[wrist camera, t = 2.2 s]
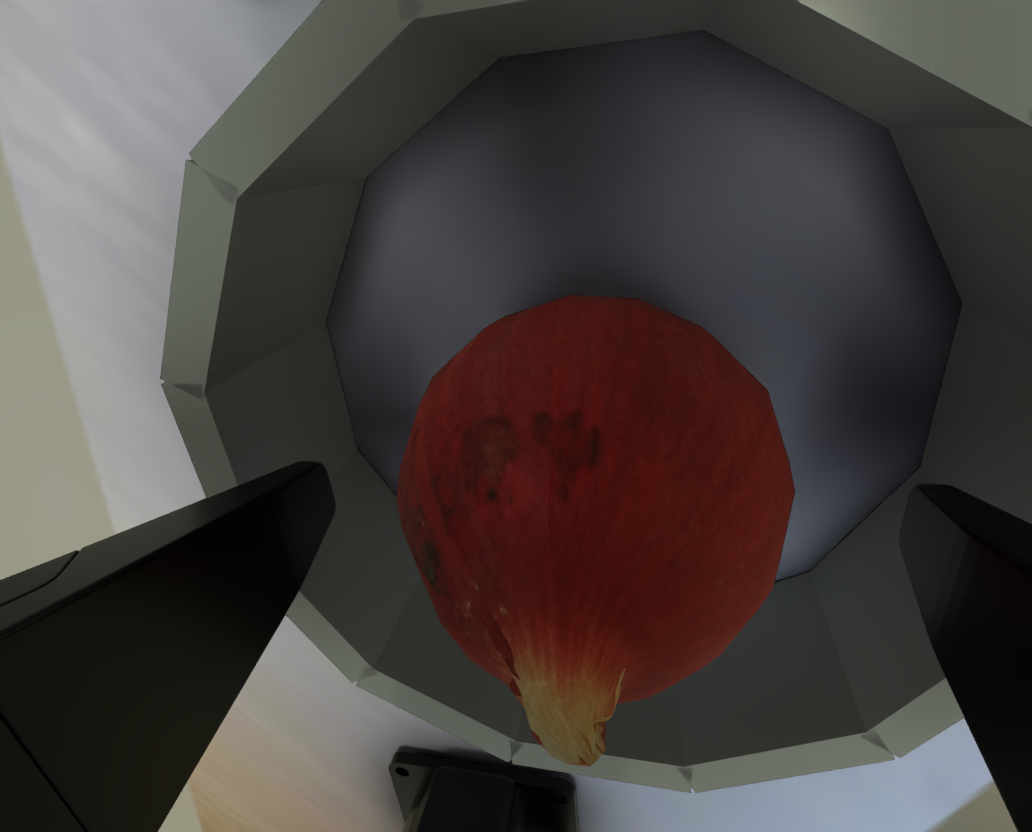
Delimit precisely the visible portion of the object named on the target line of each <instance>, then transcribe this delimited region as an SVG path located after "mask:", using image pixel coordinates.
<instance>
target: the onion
mask: <svg viewBox="0 0 1032 832" xmlns="http://www.w3.org/2000/svg"><path fill="white" fill-rule="evenodd" d="M794 494H795V489H794V484H793V478H792V473H791V468H790V463H789V459H788V456H787V453H786V449H785V446H784V443H783V440H782V436H781V433H780V430H779V426H778V423H777V420H776V416H775V413H774V410H773V406H772V403H771V400H770V397H769V393H768V390H767V389H766V388H765V387H764V386H763V385H762V384H761V383H760V382H759V381H758V380H757V379H756V378H755V377H754V376H753V375H752V374H751V373H750V372H749V371H748V370H747V369H746V368H745V367H744V366H743V365H742V364H741V363H740V362H739V361H738V360H737V359H736V358H735V357H734V356H733V355H732V354H730V353H729V352H728V351H727V350H726V349H725V348H724V347H723V346H722V345H721V344H720V343H719V342H718V341H717V340H716V339H715V338H714V337H713V336H712V335H711V334H710V333H709V332H707V331H706V330H705V329H704V328H702V327H701V326H699V325H697V324H694V323H692V322H690V321H688V320H686V319H683V318H681V317H679V316H677V315H674V314H672V313H670V312H668V311H665V310H663V309H661V308H659V307H656V306H654V305H652V304H650V303H647V302H645V301H643V300H641V299H636V298H618V297H600V296H583V295H568V296H565V297H562V298H559V299H556V300H553V301H550V302H547V303H544V304H541V305H538V306H535V307H532V308H529V309H526V310H523V311H520V312H517V313H514V314H511V315H508V316H505V317H503V318H501V319H499V320H498V321H496V322H494V323H493V324H491V325H489V326H487V327H486V328H484V329H483V330H482V331H481V332H480V333H479V334H478V335H477V336H476V337H475V338H474V339H473V340H472V341H470V342H469V343H468V344H467V345H466V346H465V347H464V348H463V349H462V350H461V351H460V352H459V353H458V354H457V355H456V356H454V357H453V358H452V359H451V360H450V361H449V362H448V363H447V364H446V365H445V366H444V367H443V368H442V369H441V370H440V371H438V372H437V373H436V374H435V375H434V376H433V377H432V379H431V381H430V383H429V385H428V387H427V390H426V392H425V394H424V396H423V398H422V400H421V402H420V405H419V407H418V411H417V414H416V417H415V421H414V424H413V427H412V430H411V434H410V437H409V440H408V444H407V447H406V450H405V454H404V457H403V460H402V464H401V467H400V472H399V481H398V490H397V499H396V500H397V505H398V510H399V516H400V521H401V526H402V530H403V533H404V535H405V538H406V540H407V543H408V545H409V548H410V550H411V553H412V555H413V558H414V560H415V563H416V565H417V568H418V570H419V573H420V575H421V578H422V580H423V583H424V585H425V588H426V590H427V592H428V595H429V597H430V600H431V602H432V604H433V607H434V609H435V611H436V613H437V615H438V618H439V620H440V622H441V624H442V626H443V627H444V628H445V629H446V631H447V632H448V633H449V634H450V636H451V637H452V638H453V639H454V641H455V642H456V643H457V644H458V646H459V647H460V648H461V649H462V651H463V652H464V653H465V654H466V656H467V657H468V658H469V659H470V660H472V661H473V662H474V663H476V664H477V665H478V666H479V667H481V668H482V669H483V670H485V671H486V672H488V673H490V674H491V675H493V676H494V677H496V678H498V679H499V680H501V681H502V682H504V683H506V684H507V685H508V687H509V688H510V689H511V691H512V692H513V693H514V695H515V696H516V697H517V699H518V700H519V701H520V703H521V704H522V705H523V707H524V708H525V710H526V714H527V718H528V721H529V725H530V729H531V732H532V736H533V737H534V738H535V739H536V740H537V741H538V742H539V743H540V745H541V746H542V747H543V748H544V749H545V750H546V751H547V752H548V753H549V754H550V755H551V756H552V757H554V758H556V759H558V760H561V761H563V762H565V763H567V764H570V765H579V766H591V765H593V764H594V763H595V762H596V761H597V760H598V758H599V757H600V756H601V755H602V754H603V753H604V752H605V743H606V722H607V721H608V720H609V719H610V718H611V717H612V716H613V714H614V711H615V707H616V704H621V703H626V702H631V701H636V700H641V699H646V698H649V697H651V696H653V695H655V694H657V693H659V692H661V691H663V690H665V689H667V688H668V687H670V686H672V685H674V684H675V683H677V682H679V681H681V680H682V679H684V678H686V677H688V676H689V675H691V674H693V673H695V672H696V671H698V670H700V669H702V668H703V667H705V666H706V665H707V664H709V663H710V662H711V661H713V660H714V659H715V658H717V657H718V656H719V655H720V654H721V653H722V652H723V651H724V650H725V649H726V647H727V646H728V645H729V644H730V643H731V641H732V640H733V639H734V638H735V637H736V635H737V634H738V633H739V632H740V631H741V630H742V628H743V627H744V626H745V625H746V624H747V622H748V621H749V620H750V619H751V618H752V616H753V615H754V614H755V613H756V612H757V610H758V609H759V607H760V606H761V605H762V603H763V602H764V600H765V599H766V598H767V596H768V595H769V593H770V592H771V590H772V589H773V585H774V581H775V578H776V574H777V570H778V567H779V563H780V559H781V554H782V549H783V545H784V540H785V535H786V531H787V526H788V522H789V517H790V512H791V508H792V503H793V498H794Z"/></svg>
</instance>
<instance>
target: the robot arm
mask: <svg viewBox="0 0 1032 832" xmlns="http://www.w3.org/2000/svg"><path fill="white" fill-rule="evenodd" d="M335 511H336V500H335V496H334V493H333V489H332V486H331V482H330V478H329V475H328V471H327V468H326V467H325V465H324V464H323V463H321V462H317V461H298V462H296V463H293V464H291V465H288V466H286V467H283V468H281V469H278V470H276V471H273V472H271V473H268V474H266V475H263V476H261V477H258V478H256V479H253V480H251V481H248V482H246V483H243V484H241V485H238V486H236V487H233V488H231V489H228V490H226V491H223V492H221V493H218V494H216V495H213V496H211V497H208V498H206V499H203V500H201V501H198V502H196V503H193V504H191V505H188V506H186V507H183V508H181V509H178V510H176V511H173V512H171V513H168V514H166V515H163V516H161V517H158V518H156V519H153V520H151V521H148V522H146V523H143V524H141V525H138V526H136V527H133V528H131V529H128V530H126V531H123V532H121V533H118V534H116V535H114V536H111V537H109V538H106V539H104V540H101V541H98V542H96V543H93V544H91V545H89V546H86V547H84V548H82V549H81V550H80V551H77V550H76V551H73V552H71V553H68V554H66V555H63V556H61V557H59V558H56V559H53V560H51V561H48V562H46V563H43V564H40V565H38V566H36V567H33V568H30V569H28V570H25V571H23V572H20V573H17V574H15V575H12V576H10V577H7V578H5V579H2V580H0V832H158V830H159V828H160V827H161V825H162V823H163V822H164V820H165V818H166V817H167V815H168V813H169V812H170V810H171V808H172V807H173V805H174V803H175V801H176V800H177V798H178V796H179V795H180V793H181V791H182V790H183V788H184V786H185V784H186V783H187V781H188V779H189V778H190V776H191V774H192V773H193V771H194V769H195V768H196V766H197V764H198V762H199V761H200V759H201V757H202V756H203V754H204V752H205V751H206V749H207V747H208V745H209V744H210V742H211V740H212V739H213V737H214V735H215V734H216V732H217V730H218V728H219V727H220V725H221V723H222V722H223V720H224V718H225V717H226V715H227V713H228V711H229V710H230V708H231V706H232V705H233V703H234V701H235V700H236V698H237V696H238V694H239V693H240V691H241V689H242V688H243V686H244V684H245V683H246V681H247V679H248V677H249V676H250V674H251V672H252V671H253V669H254V667H255V666H256V664H257V662H258V660H259V659H260V657H261V655H262V654H263V652H264V650H265V649H266V647H267V645H268V643H269V642H270V640H271V638H272V637H273V635H274V633H275V632H276V630H277V628H278V627H279V625H280V623H281V621H282V620H283V618H284V616H285V615H286V613H287V611H288V610H289V608H290V606H291V604H292V603H293V601H294V599H295V597H296V596H297V594H298V592H299V590H300V588H301V586H302V584H303V582H304V580H305V578H306V576H307V574H308V572H309V570H310V568H311V565H312V563H313V561H314V559H315V557H316V555H317V552H318V550H319V548H320V546H321V544H322V541H323V539H324V537H325V535H326V533H327V531H328V528H329V526H330V524H331V522H332V520H333V517H334V515H335ZM898 543H899V549H900V552H901V555H902V558H903V561H904V564H905V568H906V571H907V574H908V577H909V580H910V583H911V586H912V589H913V592H914V595H915V598H916V601H917V604H918V607H919V610H920V613H921V616H922V619H923V622H924V626H925V629H926V632H927V634H928V637H929V640H930V643H931V645H932V648H933V651H934V653H935V655H936V657H937V660H938V662H939V664H940V667H941V669H942V671H943V673H944V675H945V677H946V679H947V682H948V684H949V686H950V688H951V690H952V692H953V694H954V697H955V699H956V701H957V703H958V705H959V707H960V709H961V711H962V714H963V716H964V718H965V720H966V722H967V724H968V726H969V729H970V731H971V733H972V735H973V737H974V739H975V741H976V744H977V746H978V748H979V750H980V752H981V754H982V756H983V759H984V761H985V763H986V765H987V767H988V769H989V771H990V773H991V776H992V778H993V780H994V782H995V784H996V786H997V788H998V790H999V793H1000V795H1001V797H1002V799H1003V801H1004V803H1005V805H1006V808H1007V810H1008V812H1009V814H1010V816H1011V818H1012V820H1013V823H1014V824H1015V827H1016V829H1017V831H1018V832H1032V524H1031V523H1029V522H1026V521H1024V520H1022V519H1020V518H1018V517H1016V516H1014V515H1012V514H1010V513H1008V512H1006V511H1004V510H1001V509H999V508H997V507H995V506H993V505H991V504H989V503H987V502H985V501H983V500H981V499H979V498H976V497H974V496H972V495H970V494H968V493H966V492H964V491H962V490H960V489H958V488H956V487H954V486H951V485H946V484H916V485H914V486H913V487H912V488H911V490H910V492H909V494H908V498H907V502H906V506H905V510H904V513H903V517H902V521H901V525H900V529H899V534H898ZM389 771H390V774H391V778H392V781H393V784H394V787H395V791H396V794H397V797H398V800H399V804H400V807H401V810H402V813H403V817H404V820H405V823H406V824H405V827H404V829H403V832H579V822H578V809H577V795H576V788H575V785H574V784H573V783H572V782H571V781H569V780H567V779H564V778H561V777H555V776H549V775H543V774H537V773H531V772H525V771H519V770H513V769H507V768H501V767H495V766H488V765H482V764H476V763H470V762H464V761H458V760H452V759H446V758H440V757H434V756H428V755H421V754H415V753H409V752H396V753H395V754H394V756H393V758H392V760H391V763H390V765H389Z"/></svg>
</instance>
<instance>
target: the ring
mask: <svg viewBox="0 0 1032 832" xmlns="http://www.w3.org/2000/svg"><path fill="white" fill-rule="evenodd" d="M697 30H705V31H706V32H708V33H710V34H712V35H714V36H716V37H718V38H720V39H721V40H723V41H725V42H727V43H729V44H731V45H733V46H735V47H736V48H738V49H740V50H742V51H744V52H746V53H748V54H750V55H751V56H753V57H755V58H757V59H759V60H761V61H763V62H764V63H766V64H768V65H770V66H772V67H774V68H776V69H778V70H779V71H781V72H783V73H785V74H787V75H789V76H791V77H793V78H794V79H796V80H798V81H800V82H802V83H804V84H806V85H808V86H809V87H811V88H813V89H815V90H817V91H819V92H821V93H823V94H824V95H826V96H828V97H830V98H832V99H834V100H836V101H838V102H839V103H841V104H843V105H845V106H847V107H849V108H851V109H853V110H854V111H856V112H858V113H860V114H862V115H864V116H866V117H868V118H869V119H871V120H873V121H875V122H877V123H879V124H881V125H882V126H884V127H886V128H888V130H889V132H890V135H891V137H892V139H893V142H894V144H895V146H896V149H897V151H898V153H899V156H900V158H901V160H902V163H903V165H904V167H905V170H906V172H907V174H908V177H909V179H910V181H911V184H912V186H913V188H914V191H915V193H916V195H917V198H918V200H919V202H920V205H921V207H922V209H923V212H924V214H925V216H926V219H927V221H928V223H929V226H930V228H931V230H932V233H933V235H934V237H935V240H936V242H937V244H938V247H939V249H940V251H941V254H942V256H943V258H944V261H945V263H946V265H947V268H948V270H949V272H950V275H951V277H952V279H953V282H954V284H955V286H956V289H957V291H958V293H959V296H960V298H961V300H962V303H963V304H962V308H961V312H960V316H959V320H958V323H957V327H956V331H955V335H954V339H953V343H952V347H951V350H950V354H949V358H948V362H947V366H946V370H945V374H944V377H943V381H942V385H941V389H940V393H939V397H938V400H937V404H936V408H935V412H934V416H933V420H932V424H931V427H930V431H929V435H928V439H927V443H926V447H925V451H924V454H923V458H922V462H921V466H920V467H919V468H918V469H917V470H916V471H915V472H914V473H913V474H912V475H911V476H910V477H909V478H908V479H907V480H906V481H905V482H904V483H903V484H901V485H900V486H899V487H898V488H897V489H896V490H895V491H894V492H893V493H892V494H891V495H890V496H889V497H888V498H887V499H886V500H885V501H884V502H883V503H881V504H880V505H879V506H878V507H877V508H876V509H875V510H874V511H873V512H872V513H871V514H870V515H869V516H868V517H867V518H866V519H865V520H864V521H863V522H861V523H860V524H859V525H858V526H857V527H856V528H855V529H854V530H853V531H852V532H851V533H850V534H849V535H848V536H847V537H846V538H845V539H844V540H843V541H841V542H840V543H839V544H838V545H837V546H836V547H835V548H834V549H833V550H832V551H831V552H830V553H829V554H828V555H827V556H826V557H825V558H824V559H823V560H821V561H820V562H819V563H818V564H817V565H816V566H815V567H814V568H813V569H812V570H811V571H810V572H807V573H804V574H801V575H798V576H794V577H791V578H788V579H785V580H782V581H779V582H775V583H774V585H773V589H772V590H771V592H770V593H769V595H768V596H767V598H766V599H765V600H764V602H763V603H762V605H761V606H760V607H759V609H758V610H757V612H756V613H755V614H754V615H753V616H752V618H751V619H750V620H749V621H748V622H747V624H746V625H745V626H744V627H743V628H742V630H741V631H740V632H739V633H738V634H737V635H736V637H735V638H734V639H733V640H732V641H731V643H730V644H729V645H728V646H727V647H726V649H725V650H724V651H723V652H722V653H721V654H720V655H719V656H718V657H717V658H715V659H714V660H713V661H711V662H710V663H709V664H707V665H706V666H705V667H703V668H702V669H700V670H698V671H696V672H695V673H693V674H691V675H689V676H688V677H686V678H684V679H682V680H681V681H679V682H677V683H675V684H674V685H672V686H670V687H668V688H667V689H665V690H663V691H661V692H659V693H657V694H655V695H653V696H651V697H649V698H646V699H641V700H636V701H631V702H626V703H621V704H616V707H615V711H614V714H613V716H612V717H611V718H610V719H609V720H608V721H607V722H606V743H605V752H604V753H603V754H602V755H601V756H600V757H599V758H598V760H597V761H596V762H595V763H594V764H593V765H591V766H579V765H570V764H567V763H565V762H563V761H561V760H558V759H556V758H554V757H552V756H551V755H550V754H549V753H548V752H547V751H546V750H545V749H544V748H543V747H542V746H541V745H540V743H539V742H538V741H537V740H536V739H535V738H534V737H533V736H532V732H531V729H530V725H529V721H528V718H527V714H526V710H525V708H524V707H523V705H522V704H521V703H520V701H519V700H518V699H517V697H516V696H515V695H514V693H513V692H512V691H511V689H510V688H509V687H508V685H507V684H506V683H504V682H502V681H501V680H499V679H498V678H496V677H494V676H493V675H491V674H490V673H488V672H486V671H485V670H483V669H482V668H481V667H479V666H478V665H477V664H476V663H474V662H473V661H472V660H470V659H469V658H468V657H467V656H466V654H465V653H464V652H463V651H462V649H461V648H460V647H459V646H458V644H457V643H456V642H455V641H454V639H453V638H452V637H451V636H450V634H449V633H448V632H447V631H446V629H445V628H444V627H443V626H442V624H441V622H440V620H439V618H438V615H437V613H436V611H435V609H434V607H433V604H432V602H431V600H430V597H429V595H428V592H427V590H426V588H425V585H424V583H423V580H422V578H421V575H420V573H419V570H418V568H417V565H416V563H415V560H414V558H413V555H412V553H411V550H410V548H409V545H408V543H407V540H406V538H405V535H404V533H403V530H402V526H401V521H400V516H399V510H398V505H397V500H396V499H397V496H396V495H395V494H394V493H393V492H392V490H391V489H390V488H389V487H388V486H387V484H386V483H385V482H384V481H383V480H382V478H381V477H380V476H379V475H378V474H377V472H376V471H375V470H374V469H373V468H372V466H371V465H370V464H369V463H368V462H367V460H366V459H365V458H364V457H363V456H362V454H361V453H360V452H359V451H358V450H357V446H356V442H355V438H354V433H353V429H352V425H351V421H350V417H349V413H348V409H347V405H346V401H345V397H344V393H343V389H342V385H341V381H340V377H339V373H338V369H337V365H336V361H335V356H334V352H333V348H332V344H331V340H330V336H329V332H328V328H327V324H326V319H327V316H328V312H329V309H330V305H331V301H332V298H333V294H334V291H335V287H336V284H337V280H338V277H339V273H340V270H341V266H342V262H343V259H344V255H345V252H346V248H347V245H348V241H349V238H350V234H351V230H352V227H353V223H354V220H355V216H356V213H357V209H358V206H359V202H360V199H361V195H362V191H363V188H364V184H365V181H366V177H367V176H368V175H369V174H371V173H372V172H373V171H374V170H375V169H376V168H377V167H378V166H380V165H381V164H382V163H383V162H384V161H385V160H386V159H387V158H388V157H390V156H391V155H392V154H393V153H394V152H395V151H396V150H397V149H398V148H400V147H401V146H402V145H403V144H404V143H405V142H406V141H407V140H409V139H410V138H411V137H412V136H413V135H414V134H415V133H416V132H417V131H419V130H420V129H421V128H422V127H423V126H424V125H425V124H426V123H427V122H429V121H430V120H431V119H432V118H433V117H434V116H435V115H436V114H438V113H439V112H440V111H441V110H442V109H443V108H444V107H445V106H446V105H448V104H449V103H450V102H451V101H452V100H453V99H454V98H455V97H456V96H458V95H459V94H460V93H461V92H462V91H463V90H464V89H465V88H467V87H468V86H469V85H470V84H471V83H472V82H473V81H474V80H475V79H477V78H478V77H479V76H480V75H481V74H482V73H483V72H484V71H485V70H487V69H488V68H489V67H490V66H491V65H492V64H493V63H494V62H496V61H497V60H498V59H499V58H503V57H510V56H517V55H524V54H532V53H539V52H546V51H553V50H560V49H568V48H575V47H582V46H589V45H596V44H603V43H611V42H618V41H625V40H632V39H639V38H647V37H654V36H661V35H668V34H675V33H683V32H690V31H697ZM189 155H190V156H191V158H192V159H193V160H186V163H185V172H184V180H183V189H182V197H181V206H180V214H179V223H178V231H177V240H176V248H175V257H174V265H173V274H172V282H171V291H170V299H169V308H168V316H167V325H166V333H165V342H164V350H163V359H162V367H161V376H160V379H162V380H164V381H166V382H164V383H162V384H161V385H162V388H163V390H164V393H165V395H166V398H167V400H168V403H169V405H170V408H171V410H172V413H173V415H174V418H175V420H176V423H177V425H178V428H179V430H180V433H181V435H182V438H183V440H184V443H185V446H186V448H187V451H188V453H189V456H190V458H191V461H192V463H193V466H194V468H195V471H196V473H197V476H198V478H199V481H200V483H201V486H202V488H203V491H204V493H205V496H206V498H208V497H211V496H213V495H216V494H218V493H221V492H223V491H226V490H228V489H231V488H233V487H236V486H238V485H241V484H243V483H246V482H248V481H251V480H253V479H256V478H258V477H261V476H263V475H266V474H268V473H271V472H273V471H276V470H278V469H281V468H283V467H286V466H288V465H291V464H293V463H296V462H298V461H317V462H321V463H323V464H324V465H325V467H326V468H327V471H328V475H329V478H330V482H331V486H332V489H333V493H334V496H335V500H336V511H335V515H334V517H333V520H332V522H331V524H330V526H329V528H328V531H327V533H326V535H325V537H324V539H323V541H322V544H321V546H320V548H319V550H318V552H317V555H316V557H315V559H314V561H313V563H312V565H311V568H310V570H309V572H308V574H307V576H306V578H305V580H304V582H303V584H302V586H301V588H300V590H299V592H298V594H297V596H296V597H295V599H294V601H293V603H292V604H291V606H290V608H289V610H288V611H287V613H286V616H287V617H288V618H289V619H290V620H291V621H292V622H293V623H294V624H295V625H296V626H297V627H298V628H299V629H300V630H301V631H302V632H303V633H304V634H305V635H306V636H307V637H308V638H309V639H310V640H311V641H312V642H313V643H314V644H315V645H316V646H317V647H318V648H319V650H320V651H321V652H322V653H323V654H324V655H325V656H326V657H327V658H328V659H329V660H330V661H331V662H332V663H333V664H334V665H335V666H336V667H337V668H338V669H339V670H340V671H341V672H342V673H343V674H344V675H345V676H346V677H347V678H348V679H349V680H350V681H351V682H352V683H353V682H356V681H358V682H357V684H356V686H358V687H360V688H362V689H364V690H366V691H367V692H369V693H371V694H373V695H375V696H377V697H379V698H381V699H383V700H385V701H387V702H389V703H391V704H393V705H395V706H397V707H399V708H401V709H403V710H405V711H407V712H409V713H411V714H413V715H415V716H417V717H419V718H421V719H423V720H425V721H427V722H429V723H431V724H433V725H435V726H437V727H439V728H441V729H443V730H445V731H447V732H449V733H451V734H453V735H455V736H457V737H459V738H460V739H462V740H464V741H466V742H468V743H470V744H472V745H474V746H476V747H478V748H480V749H482V750H484V751H486V752H488V753H490V754H492V755H494V756H496V757H498V758H500V759H502V760H504V761H506V762H509V761H510V760H511V759H512V764H516V765H522V766H528V767H534V768H540V769H546V770H553V771H559V772H565V773H571V774H577V775H584V776H590V777H596V778H602V779H608V780H614V781H621V782H627V783H633V784H639V785H645V786H651V787H658V788H664V789H670V790H676V791H682V792H689V793H691V787H692V788H693V790H694V791H695V792H696V793H698V792H704V791H710V790H716V789H723V788H729V787H735V786H741V785H747V784H753V783H759V782H765V781H771V780H777V779H783V778H789V777H795V776H801V775H807V774H813V773H819V772H825V771H831V770H837V769H843V768H849V767H855V766H861V765H867V764H873V763H879V762H885V761H891V760H895V759H894V756H893V754H894V755H896V756H898V757H900V758H901V757H902V756H904V755H906V754H907V753H909V752H910V751H912V750H914V749H915V748H917V747H918V746H920V745H922V744H923V743H925V742H926V741H928V740H930V739H931V738H933V737H934V736H936V735H937V734H939V733H941V732H942V731H944V730H945V729H947V728H949V727H950V726H952V725H953V724H955V723H957V722H958V721H960V720H961V719H963V718H964V716H963V714H962V711H961V709H960V707H959V705H958V703H957V701H956V699H955V697H954V694H953V692H952V690H951V688H950V686H949V684H948V682H947V679H946V677H945V675H944V673H943V671H942V669H941V667H940V664H939V662H938V660H937V657H936V655H935V653H934V651H933V648H932V645H931V643H930V640H929V637H928V634H927V632H926V629H925V626H924V622H923V619H922V616H921V613H920V610H919V607H918V604H917V601H916V598H915V595H914V592H913V589H912V586H911V583H910V580H909V577H908V574H907V571H906V568H905V564H904V561H903V558H902V555H901V552H900V549H899V543H898V534H899V529H900V525H901V521H902V517H903V513H904V510H905V506H906V502H907V498H908V494H909V492H910V490H911V488H912V487H913V486H914V485H916V484H946V485H951V486H954V487H956V488H958V489H960V490H962V491H964V492H966V493H968V494H970V495H972V496H974V497H976V498H979V499H981V500H983V501H985V502H987V503H989V504H991V505H993V506H995V507H997V508H999V509H1001V510H1004V511H1006V512H1008V513H1010V514H1012V515H1014V516H1016V517H1018V518H1020V519H1022V520H1024V521H1026V522H1029V523H1031V524H1032V0H322V2H321V3H320V4H319V5H318V6H317V7H316V8H315V10H314V11H313V12H312V13H311V14H310V15H309V16H308V18H307V19H306V20H305V21H304V22H303V23H302V24H301V26H300V27H299V28H298V29H297V30H296V31H295V32H294V34H293V35H292V36H291V37H290V38H289V39H288V40H287V42H286V43H285V44H284V45H283V46H282V47H281V48H280V50H279V51H278V52H277V53H276V54H275V55H274V56H273V58H272V59H271V60H270V61H269V62H268V63H267V64H266V66H265V67H264V68H263V69H262V70H261V71H260V72H259V74H258V75H257V76H256V77H255V78H254V79H253V80H252V82H251V83H250V84H249V85H248V86H247V87H246V88H245V90H244V91H243V92H242V93H241V94H240V95H239V96H238V98H237V99H236V100H235V101H234V102H233V103H232V104H231V106H230V107H229V108H228V109H227V110H226V111H225V112H224V114H223V115H222V116H221V117H220V118H219V119H218V120H217V122H216V123H215V124H214V125H213V126H212V127H211V128H210V130H209V131H208V132H207V133H206V134H205V135H204V136H203V138H202V139H201V140H200V141H199V142H198V143H197V145H196V146H195V147H194V148H193V149H192V150H191V151H190V153H189Z"/></svg>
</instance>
